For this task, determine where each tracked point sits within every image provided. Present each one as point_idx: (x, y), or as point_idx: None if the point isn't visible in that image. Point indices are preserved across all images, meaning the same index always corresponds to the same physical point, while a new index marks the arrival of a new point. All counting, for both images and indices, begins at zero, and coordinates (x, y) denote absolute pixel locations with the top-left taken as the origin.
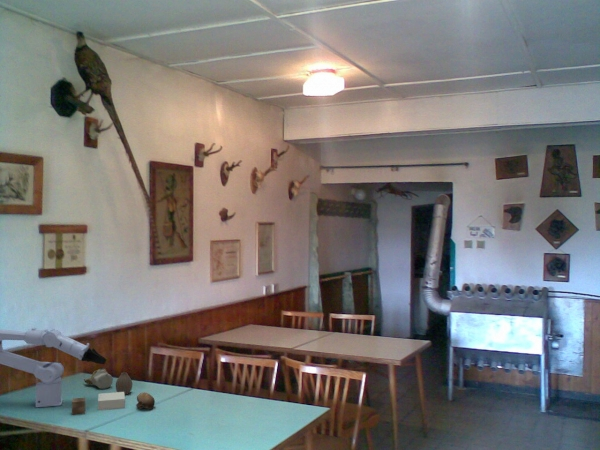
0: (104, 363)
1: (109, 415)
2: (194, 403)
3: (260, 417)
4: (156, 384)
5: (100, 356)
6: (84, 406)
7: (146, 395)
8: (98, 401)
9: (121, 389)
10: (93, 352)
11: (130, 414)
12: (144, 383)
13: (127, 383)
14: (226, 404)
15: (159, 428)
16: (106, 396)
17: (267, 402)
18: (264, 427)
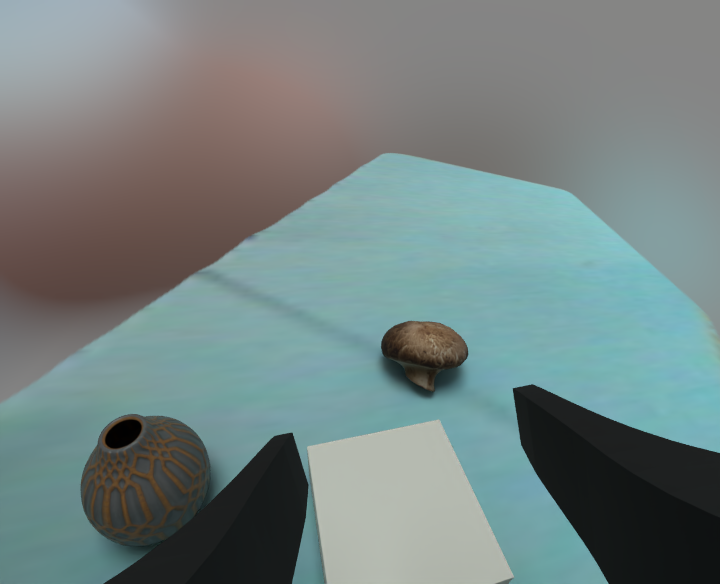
0: (303, 476)
1: None
2: (362, 264)
3: (448, 194)
4: (68, 370)
5: (262, 497)
6: None
7: (437, 326)
8: (511, 575)
9: (205, 489)
10: (698, 449)
11: (507, 407)
12: (2, 423)
13: (196, 437)
14: (371, 222)
15: (595, 315)
16: (406, 539)
17: (357, 184)
18: (499, 194)
